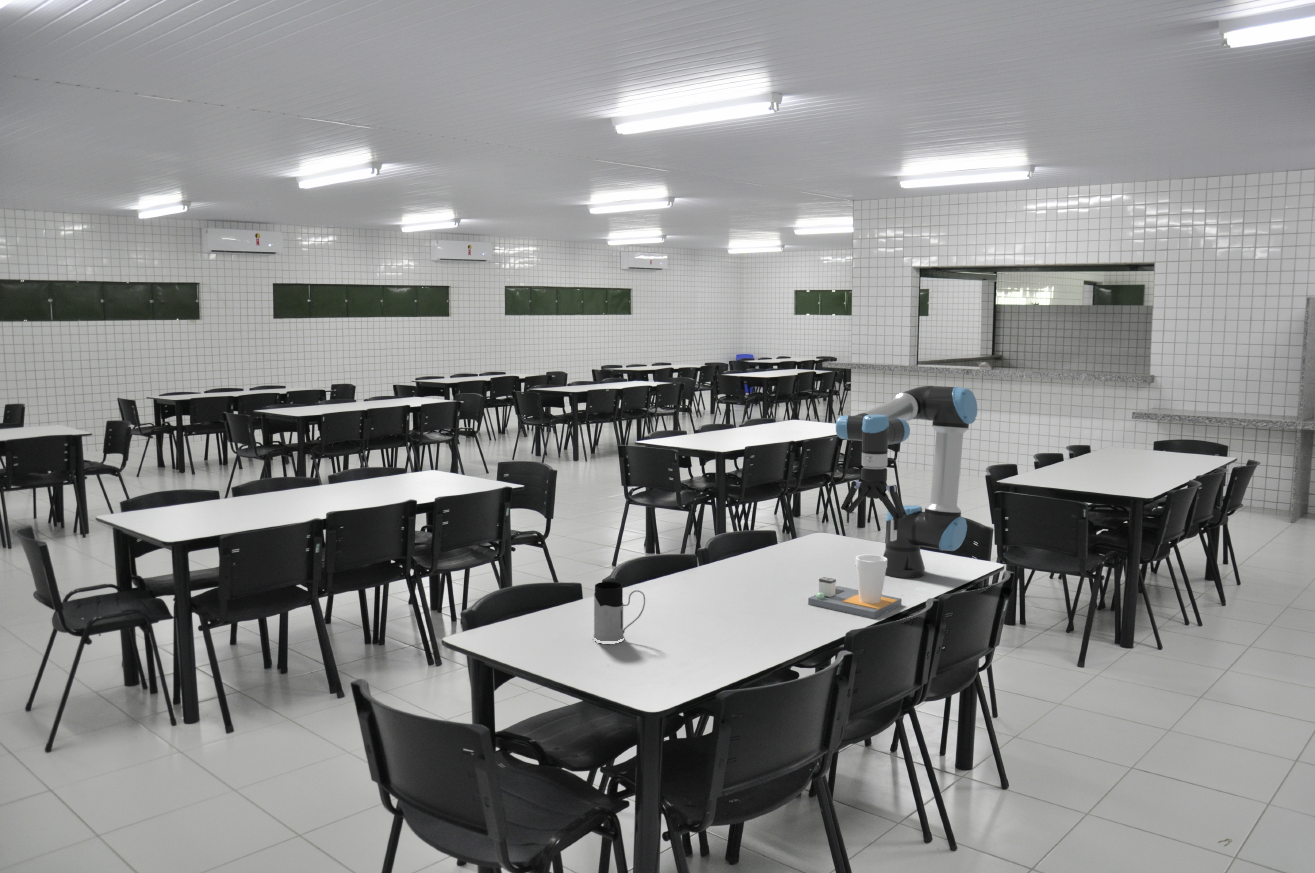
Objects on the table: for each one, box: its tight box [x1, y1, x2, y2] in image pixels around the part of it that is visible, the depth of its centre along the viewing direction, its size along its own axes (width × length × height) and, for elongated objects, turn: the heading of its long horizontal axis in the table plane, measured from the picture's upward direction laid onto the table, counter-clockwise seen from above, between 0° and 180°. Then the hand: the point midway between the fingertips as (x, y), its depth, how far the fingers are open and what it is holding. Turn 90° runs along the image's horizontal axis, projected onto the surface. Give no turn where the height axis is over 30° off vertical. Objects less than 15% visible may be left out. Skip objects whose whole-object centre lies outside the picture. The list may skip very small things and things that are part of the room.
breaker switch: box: [818, 576, 837, 597], centre depth 297 cm, size 3×4×5 cm
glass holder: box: [593, 581, 646, 641], centre depth 260 cm, size 9×14×15 cm, turn 88°
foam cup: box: [854, 554, 887, 603], centre depth 290 cm, size 10×9×13 cm
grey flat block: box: [807, 585, 903, 620], centre depth 294 cm, size 18×22×4 cm
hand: (872, 537), depth 289 cm, fingers open, 13 cm apart
